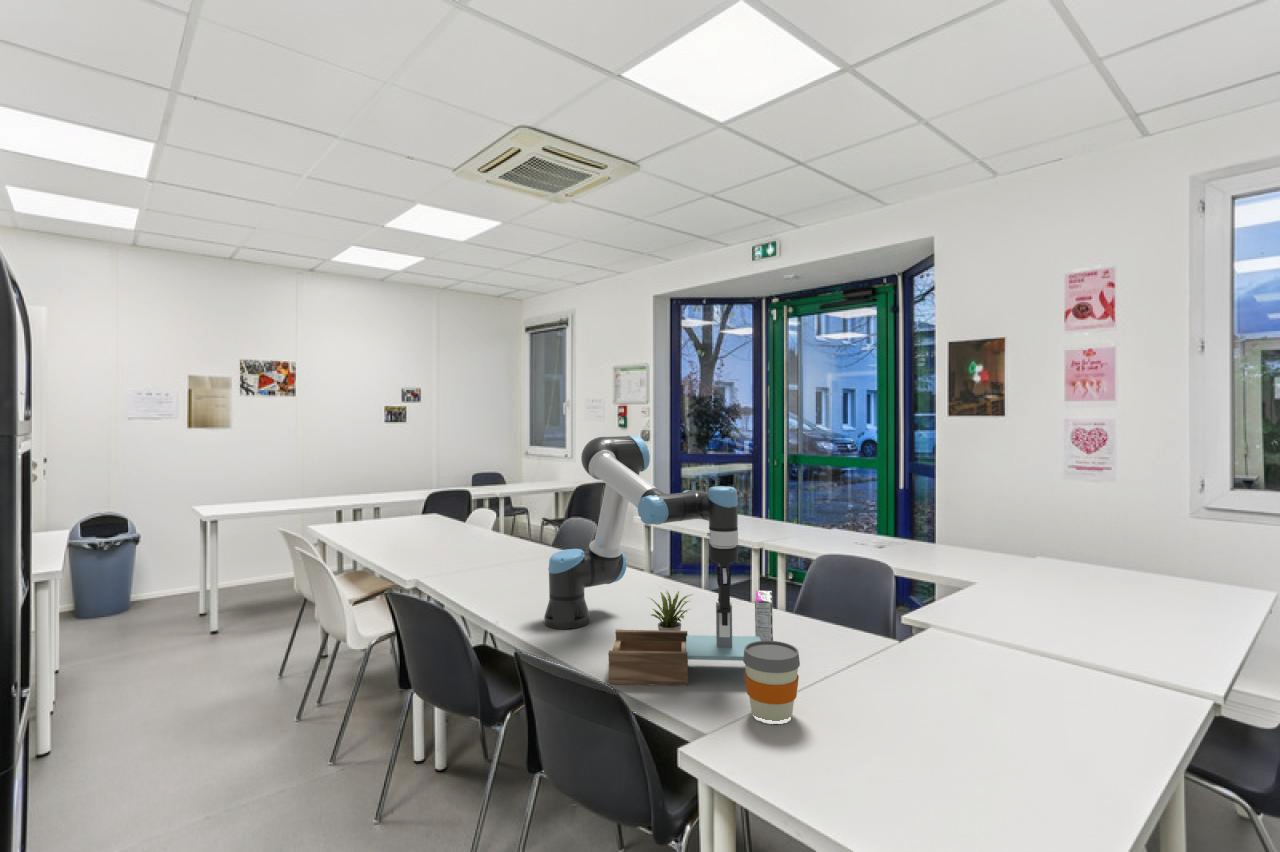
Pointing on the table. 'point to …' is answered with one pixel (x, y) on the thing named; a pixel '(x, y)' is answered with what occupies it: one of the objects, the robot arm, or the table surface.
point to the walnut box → (649, 658)
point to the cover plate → (713, 653)
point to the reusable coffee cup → (771, 678)
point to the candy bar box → (764, 615)
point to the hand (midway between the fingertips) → (724, 634)
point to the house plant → (670, 613)
